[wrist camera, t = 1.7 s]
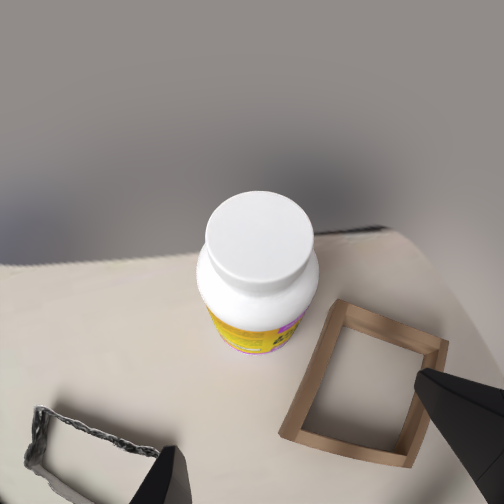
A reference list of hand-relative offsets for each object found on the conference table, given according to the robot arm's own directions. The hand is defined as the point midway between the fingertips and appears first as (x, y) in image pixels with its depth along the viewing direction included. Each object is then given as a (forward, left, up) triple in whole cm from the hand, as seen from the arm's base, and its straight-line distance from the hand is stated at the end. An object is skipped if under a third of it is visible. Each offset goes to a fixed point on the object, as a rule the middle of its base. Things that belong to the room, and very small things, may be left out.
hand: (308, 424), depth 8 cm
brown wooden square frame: (-7, -4, -13) cm, 15 cm away
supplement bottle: (+5, -6, -13) cm, 15 cm away
